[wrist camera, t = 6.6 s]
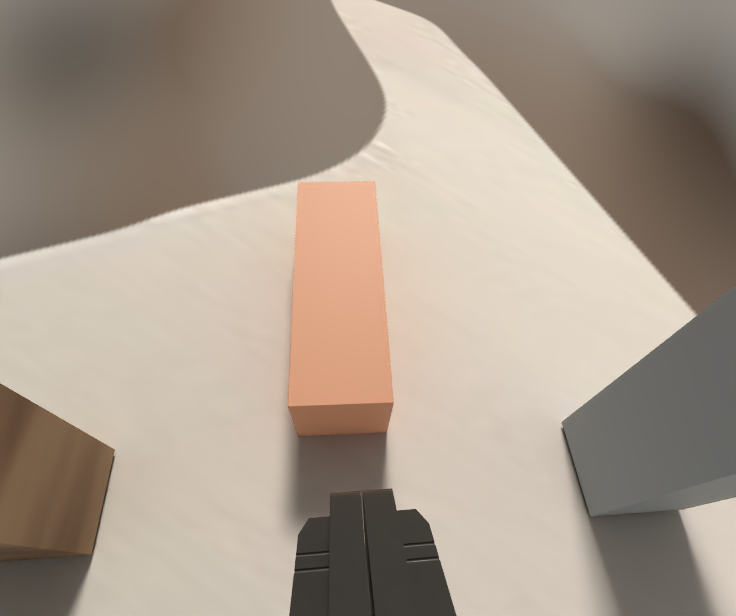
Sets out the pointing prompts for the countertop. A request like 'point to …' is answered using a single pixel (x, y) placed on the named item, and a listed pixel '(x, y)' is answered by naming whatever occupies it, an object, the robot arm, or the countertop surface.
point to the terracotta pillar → (339, 313)
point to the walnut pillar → (47, 482)
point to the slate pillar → (664, 424)
